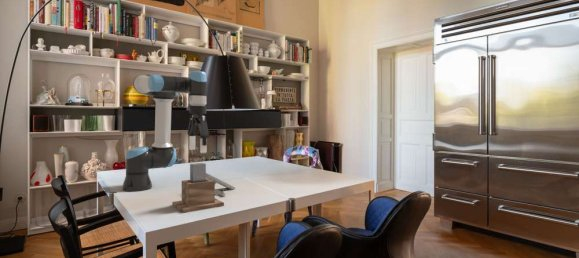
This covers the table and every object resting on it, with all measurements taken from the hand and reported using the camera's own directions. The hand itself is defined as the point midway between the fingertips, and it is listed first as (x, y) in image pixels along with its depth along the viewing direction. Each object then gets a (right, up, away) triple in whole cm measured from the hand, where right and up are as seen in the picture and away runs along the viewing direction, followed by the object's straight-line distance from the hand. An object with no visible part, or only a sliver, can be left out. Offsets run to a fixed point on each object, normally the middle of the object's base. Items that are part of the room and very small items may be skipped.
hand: (197, 151), depth 150 cm
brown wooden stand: (0, -25, +1) cm, 25 cm away
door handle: (+6, -25, +27) cm, 37 cm away
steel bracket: (0, -20, +1) cm, 20 cm away
